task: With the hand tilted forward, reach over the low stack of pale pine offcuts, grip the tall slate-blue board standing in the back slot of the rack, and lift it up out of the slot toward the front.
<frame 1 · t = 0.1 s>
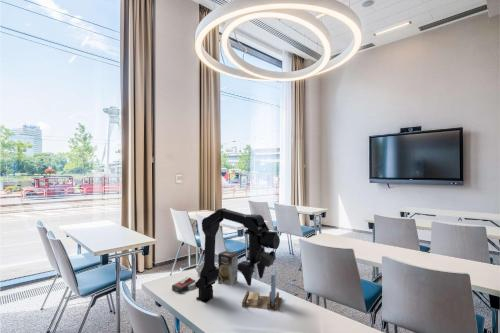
hand: (255, 281, 116), 15 cm above the table, tool pointing down, fingers open, 9 cm apart
coffee box: (227, 283, 149), on the table
rack: (262, 303, 127), on the table
board: (273, 303, 126), point 1 cm above the table, touching rack
walkie-talkie: (189, 286, 146), on the table
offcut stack: (252, 301, 128), point 1 cm above the table, touching rack
flag stand: (206, 274, 162), on the table
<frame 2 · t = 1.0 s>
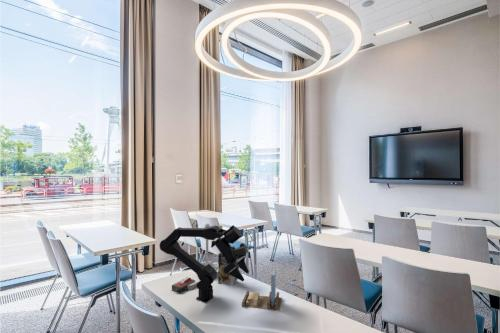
hand: (245, 276, 127), 12 cm above the table, tool tilted 40°, fingers open, 9 cm apart
nothing on the table moved.
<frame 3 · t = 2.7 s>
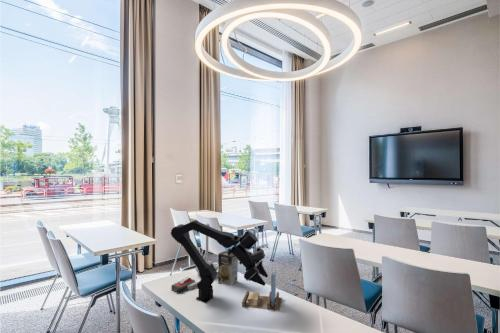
hand: (266, 280, 127), 11 cm above the table, tool tilted 45°, fingers open, 9 cm apart
nothing on the table moved.
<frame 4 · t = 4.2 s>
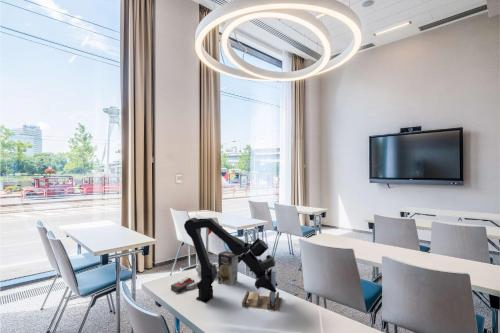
hand: (276, 288, 126), 8 cm above the table, tool tilted 45°, fingers closed on board, 6 cm apart
board: (273, 303, 126), point 1 cm above the table, touching gripper, rack
everything else where it was.
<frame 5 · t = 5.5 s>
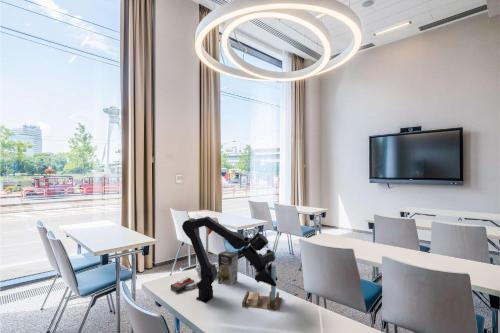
hand: (276, 282, 126), 10 cm above the table, tool tilted 45°, fingers closed on board, 6 cm apart
board: (273, 297, 126), point 3 cm above the table, touching gripper
everything else where it was.
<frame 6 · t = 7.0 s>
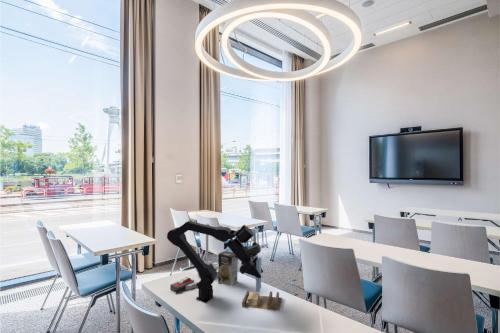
hand: (261, 274, 127), 13 cm above the table, tool tilted 45°, fingers closed on board, 6 cm apart
board: (258, 289, 127), point 7 cm above the table, touching gripper
everything else where it was.
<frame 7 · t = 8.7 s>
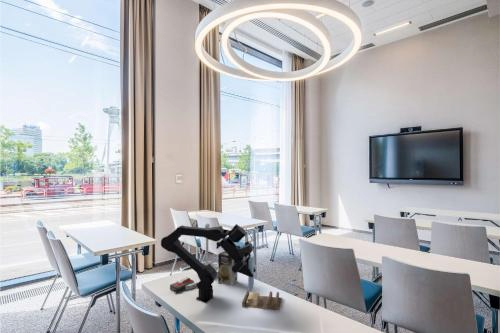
hand: (254, 274, 128), 13 cm above the table, tool tilted 45°, fingers closed on board, 6 cm apart
board: (251, 288, 128), point 7 cm above the table, touching gripper
everything else where it was.
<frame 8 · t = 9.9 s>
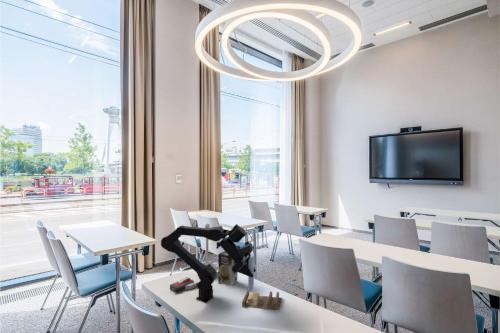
hand: (254, 274, 128), 13 cm above the table, tool tilted 45°, fingers closed on board, 6 cm apart
board: (251, 288, 128), point 7 cm above the table, touching gripper
everything else where it was.
at the end: the gripper is holding board; board point 6.7 cm above the table; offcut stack moved 0.0 cm from its start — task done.
